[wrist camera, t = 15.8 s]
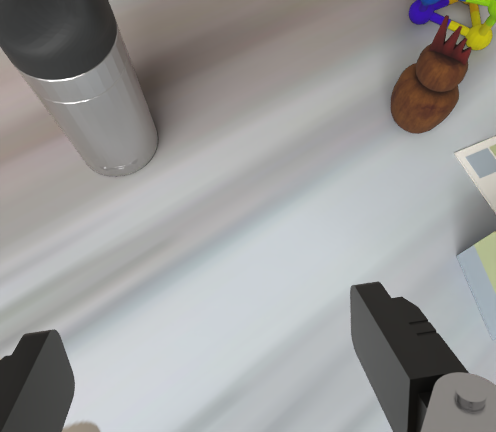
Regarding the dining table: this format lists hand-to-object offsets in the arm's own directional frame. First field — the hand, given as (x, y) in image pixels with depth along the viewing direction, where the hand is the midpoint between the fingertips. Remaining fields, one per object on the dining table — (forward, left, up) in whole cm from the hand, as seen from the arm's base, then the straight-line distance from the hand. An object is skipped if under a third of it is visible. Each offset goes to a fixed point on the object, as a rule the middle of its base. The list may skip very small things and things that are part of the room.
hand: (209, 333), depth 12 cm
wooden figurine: (-24, +27, -34) cm, 49 cm away
